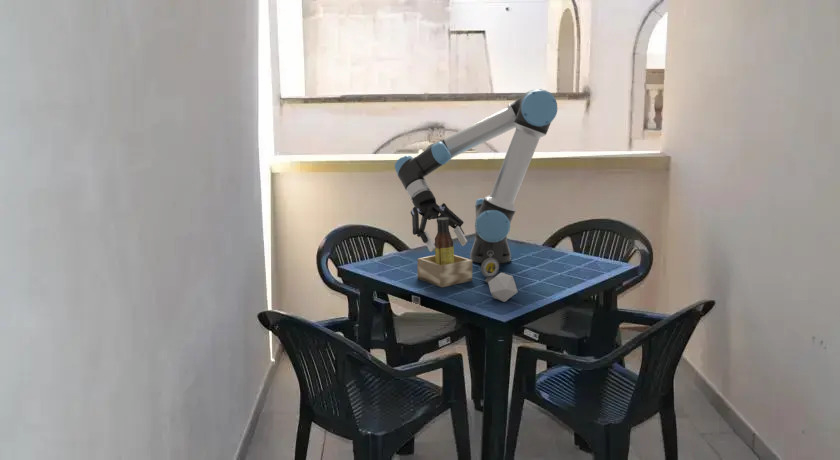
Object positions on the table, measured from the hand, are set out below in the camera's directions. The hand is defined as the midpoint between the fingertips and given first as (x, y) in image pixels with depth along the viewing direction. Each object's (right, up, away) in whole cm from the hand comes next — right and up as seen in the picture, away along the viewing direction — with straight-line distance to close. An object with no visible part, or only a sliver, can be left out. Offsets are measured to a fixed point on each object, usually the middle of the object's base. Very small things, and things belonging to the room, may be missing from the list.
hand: (449, 246), depth 222 cm
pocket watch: (+15, -12, +2) cm, 19 cm away
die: (+15, -16, -17) cm, 28 cm away
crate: (-1, -11, +4) cm, 12 cm away
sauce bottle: (-1, -10, +4) cm, 11 cm away
